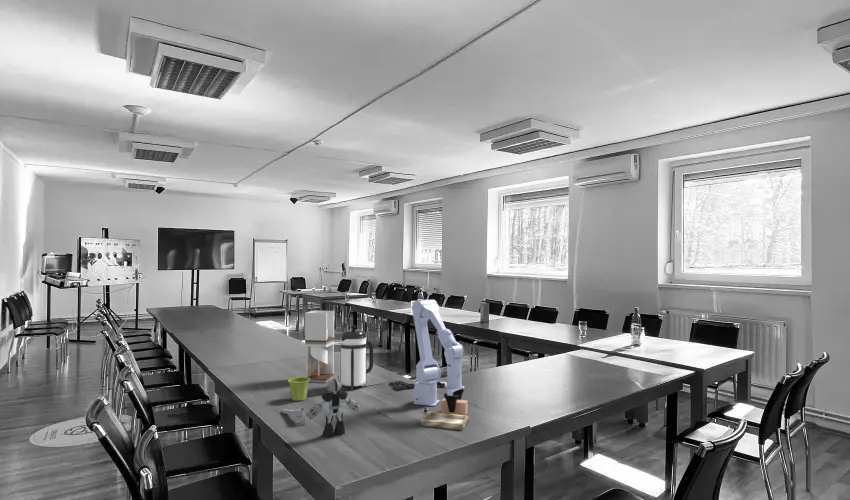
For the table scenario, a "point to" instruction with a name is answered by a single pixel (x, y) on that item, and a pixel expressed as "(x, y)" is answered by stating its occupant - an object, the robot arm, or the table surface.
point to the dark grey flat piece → (409, 385)
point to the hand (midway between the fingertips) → (454, 409)
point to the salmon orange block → (460, 407)
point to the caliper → (296, 414)
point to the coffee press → (354, 358)
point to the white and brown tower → (319, 345)
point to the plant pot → (299, 388)
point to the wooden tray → (445, 420)
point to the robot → (333, 408)
